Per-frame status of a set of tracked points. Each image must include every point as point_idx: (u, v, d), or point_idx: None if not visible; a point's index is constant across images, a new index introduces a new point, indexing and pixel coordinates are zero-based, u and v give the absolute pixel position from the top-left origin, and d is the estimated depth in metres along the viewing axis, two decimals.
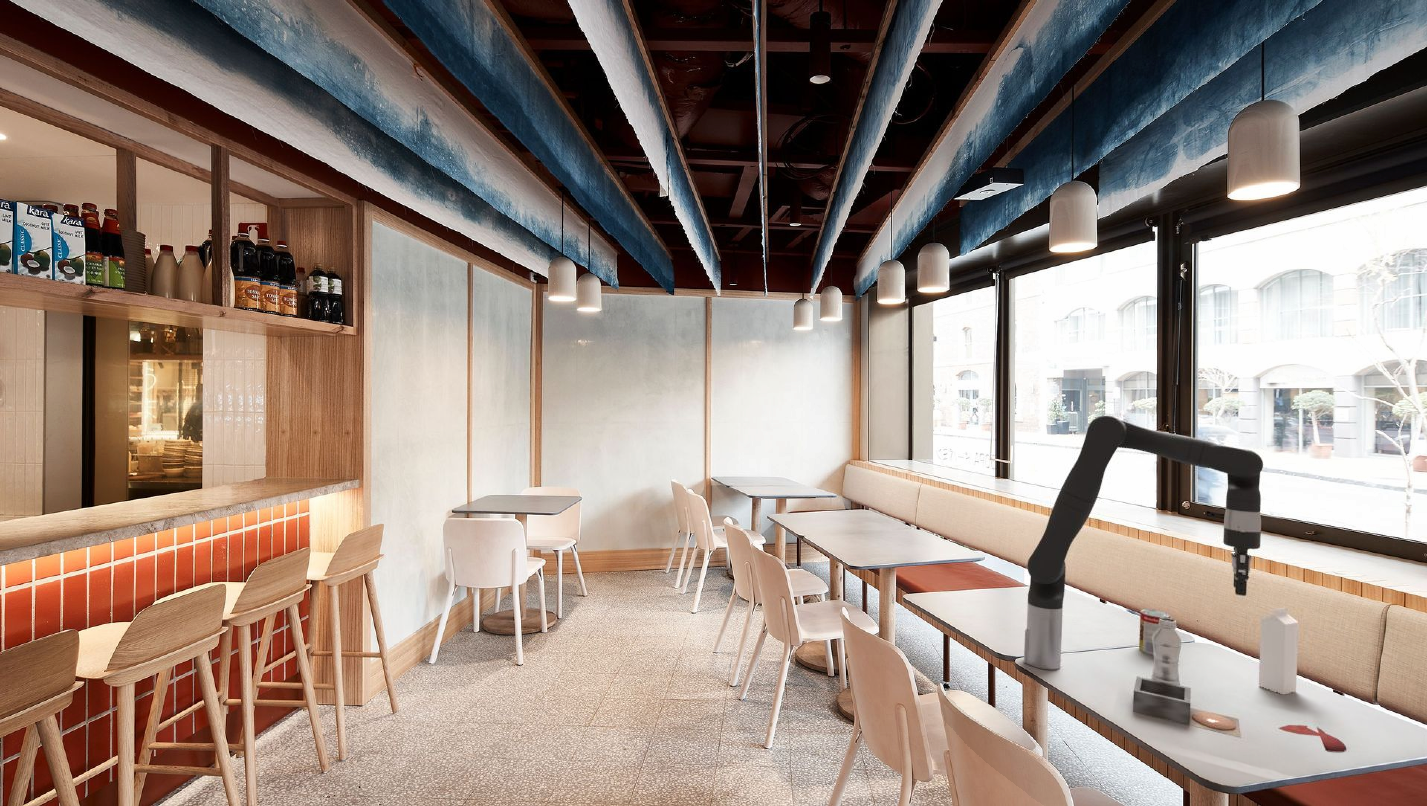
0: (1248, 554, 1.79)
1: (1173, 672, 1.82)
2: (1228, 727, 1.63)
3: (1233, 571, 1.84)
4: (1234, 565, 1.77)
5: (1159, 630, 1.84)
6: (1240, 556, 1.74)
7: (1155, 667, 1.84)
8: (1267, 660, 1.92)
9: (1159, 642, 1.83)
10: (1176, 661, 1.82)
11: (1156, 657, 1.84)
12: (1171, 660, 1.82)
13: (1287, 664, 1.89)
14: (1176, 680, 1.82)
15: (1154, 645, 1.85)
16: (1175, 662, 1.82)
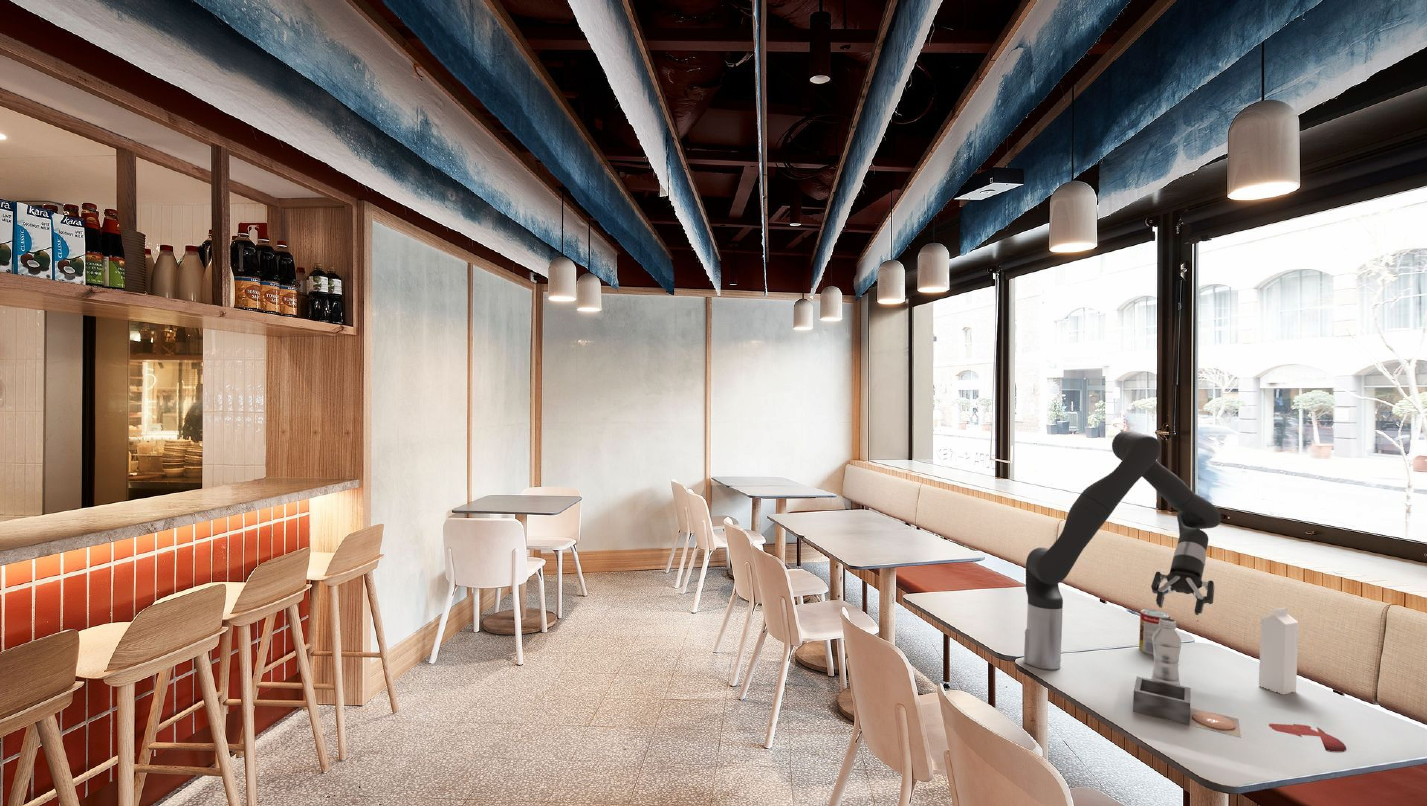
0: None
1: (1173, 672, 1.82)
2: (1228, 727, 1.63)
3: (1159, 591, 1.97)
4: None
5: (1159, 630, 1.84)
6: (1213, 583, 1.93)
7: (1155, 667, 1.84)
8: (1267, 660, 1.92)
9: (1159, 642, 1.83)
10: (1176, 661, 1.82)
11: (1156, 657, 1.84)
12: (1171, 660, 1.82)
13: (1287, 665, 1.88)
14: (1176, 680, 1.82)
15: (1154, 645, 1.85)
16: (1175, 662, 1.82)
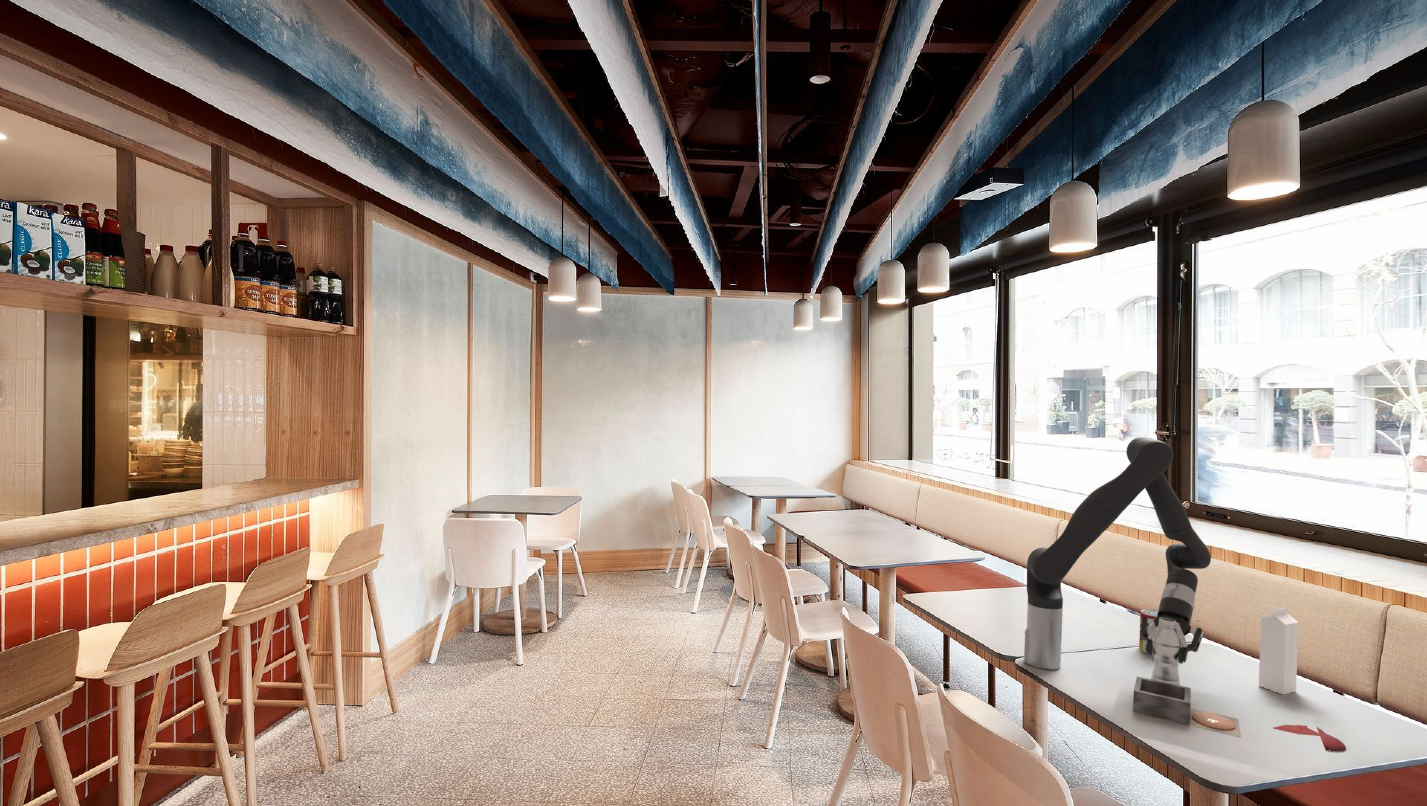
0: None
1: (1173, 672, 1.82)
2: (1228, 727, 1.63)
3: (1150, 638, 1.87)
4: (1183, 634, 1.84)
5: (1159, 630, 1.84)
6: (1202, 631, 1.83)
7: (1155, 667, 1.84)
8: (1267, 660, 1.92)
9: (1159, 642, 1.83)
10: (1176, 661, 1.82)
11: (1156, 657, 1.84)
12: (1171, 660, 1.82)
13: (1287, 664, 1.89)
14: (1176, 680, 1.82)
15: (1154, 645, 1.85)
16: (1175, 662, 1.82)
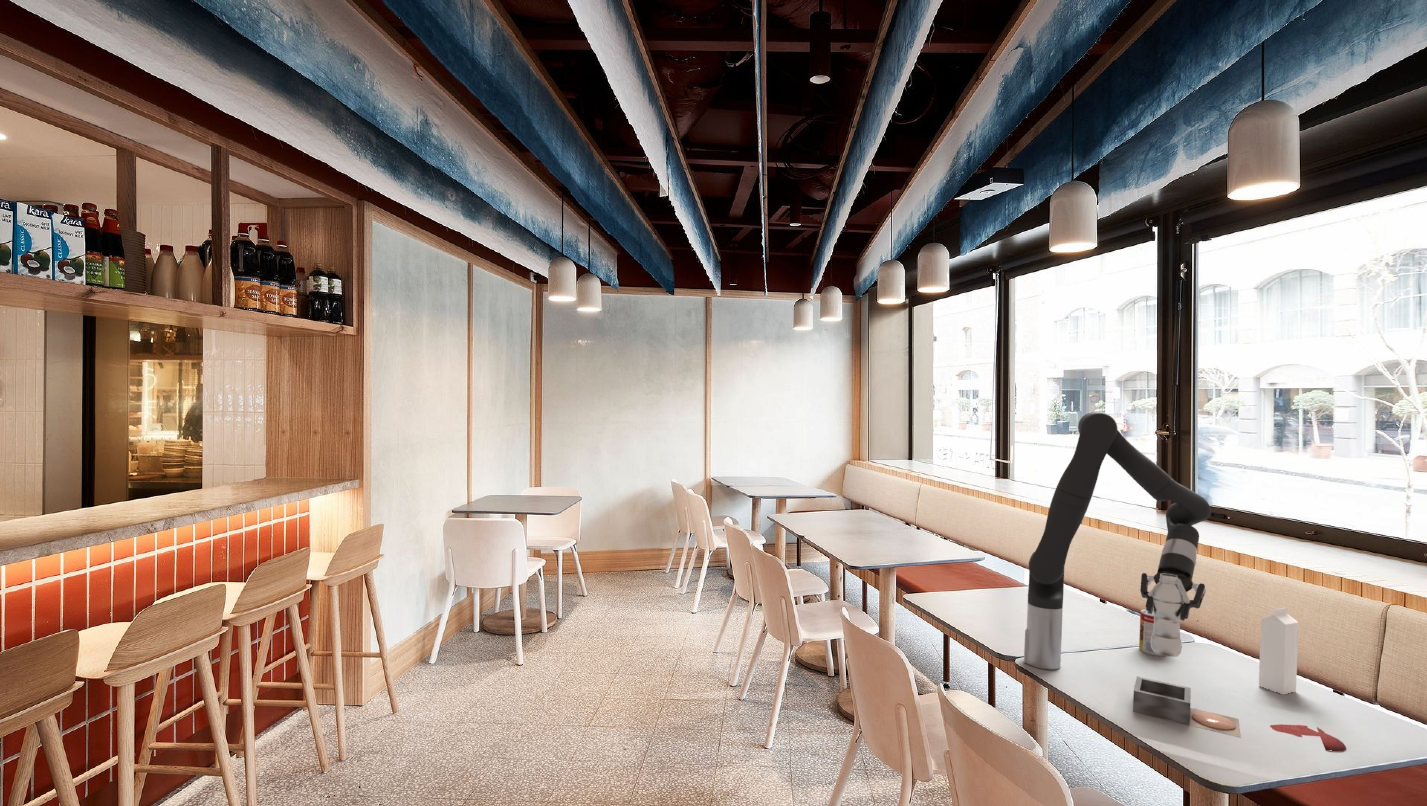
0: None
1: (1175, 630, 1.73)
2: (1228, 727, 1.63)
3: (1150, 595, 1.79)
4: (1185, 590, 1.75)
5: (1160, 586, 1.76)
6: (1204, 587, 1.75)
7: (1155, 625, 1.76)
8: (1267, 660, 1.92)
9: (1160, 598, 1.74)
10: (1178, 618, 1.73)
11: (1157, 614, 1.75)
12: (1172, 617, 1.73)
13: (1287, 665, 1.89)
14: (1177, 638, 1.73)
15: (1155, 602, 1.76)
16: (1176, 619, 1.73)
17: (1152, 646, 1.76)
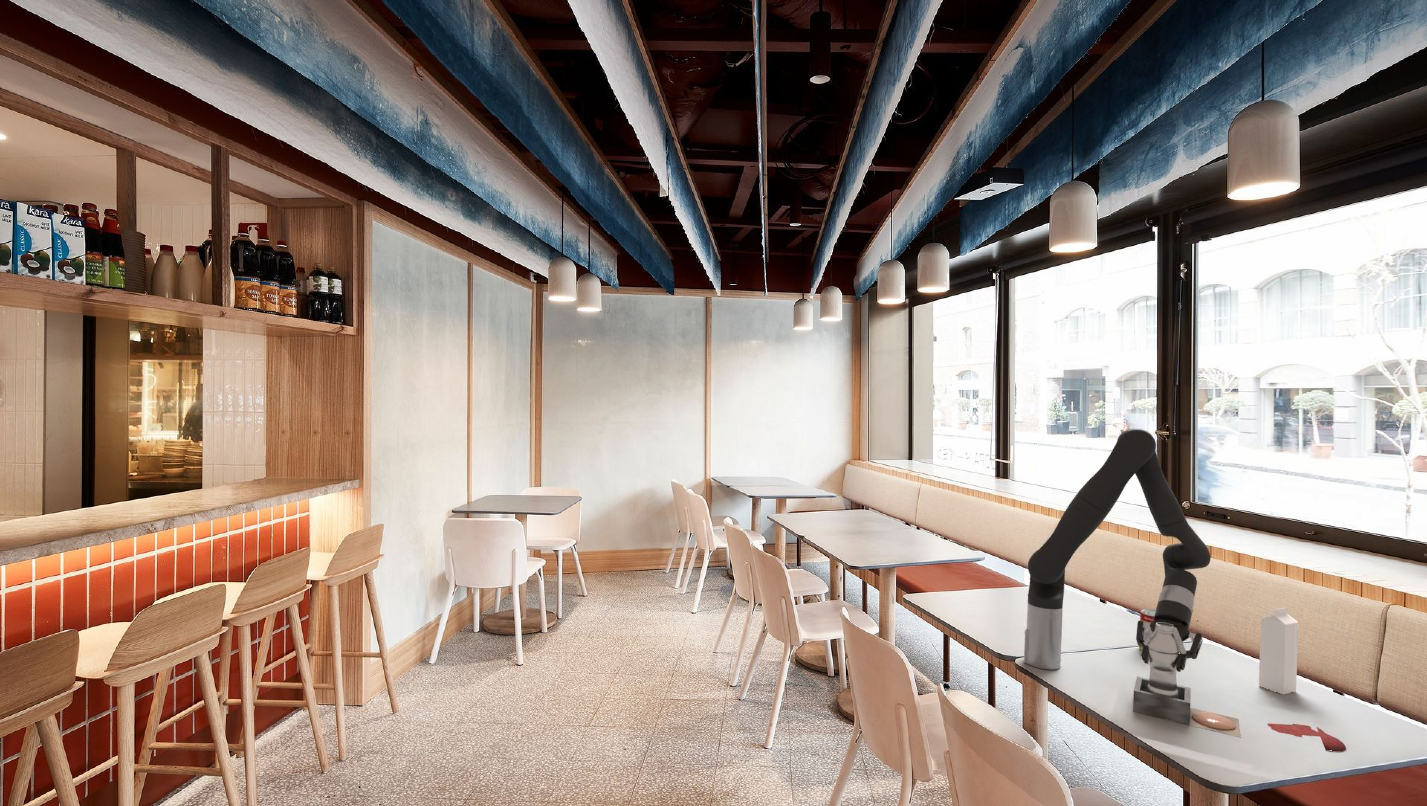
0: None
1: (1171, 681, 1.70)
2: (1228, 727, 1.63)
3: (1145, 644, 1.75)
4: (1181, 640, 1.72)
5: (1155, 636, 1.72)
6: (1201, 637, 1.71)
7: (1151, 675, 1.72)
8: (1267, 660, 1.92)
9: (1155, 649, 1.71)
10: (1174, 669, 1.70)
11: (1152, 665, 1.72)
12: (1168, 668, 1.70)
13: (1287, 665, 1.89)
14: (1174, 689, 1.70)
15: (1150, 652, 1.72)
16: (1173, 670, 1.70)
17: None
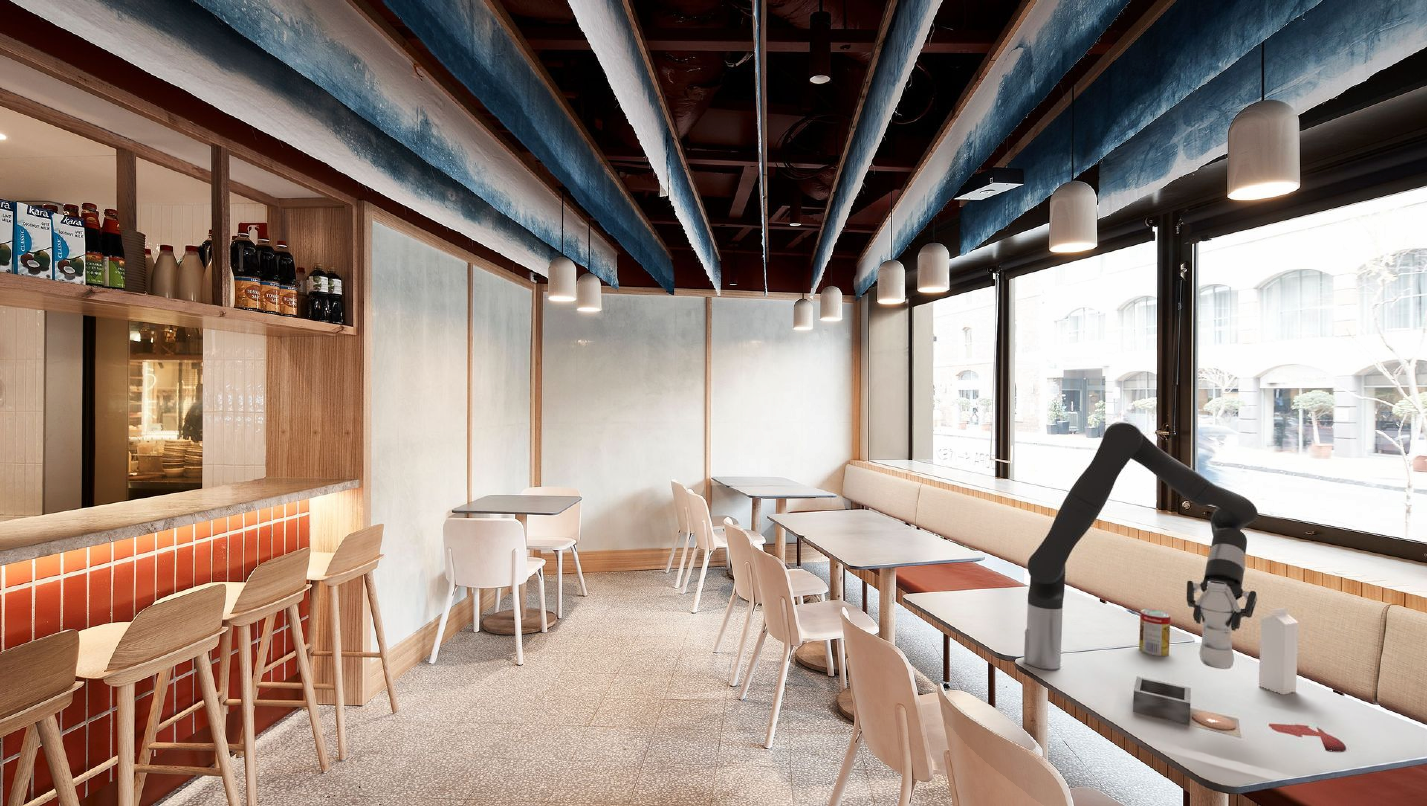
0: None
1: (1226, 641, 1.64)
2: (1228, 727, 1.63)
3: (1197, 604, 1.69)
4: None
5: (1208, 594, 1.67)
6: (1256, 595, 1.65)
7: (1204, 635, 1.66)
8: (1267, 660, 1.92)
9: (1208, 607, 1.65)
10: (1228, 628, 1.64)
11: (1205, 624, 1.66)
12: (1222, 627, 1.64)
13: (1287, 664, 1.89)
14: (1229, 649, 1.64)
15: (1203, 611, 1.67)
16: (1227, 629, 1.64)
17: (1202, 658, 1.67)
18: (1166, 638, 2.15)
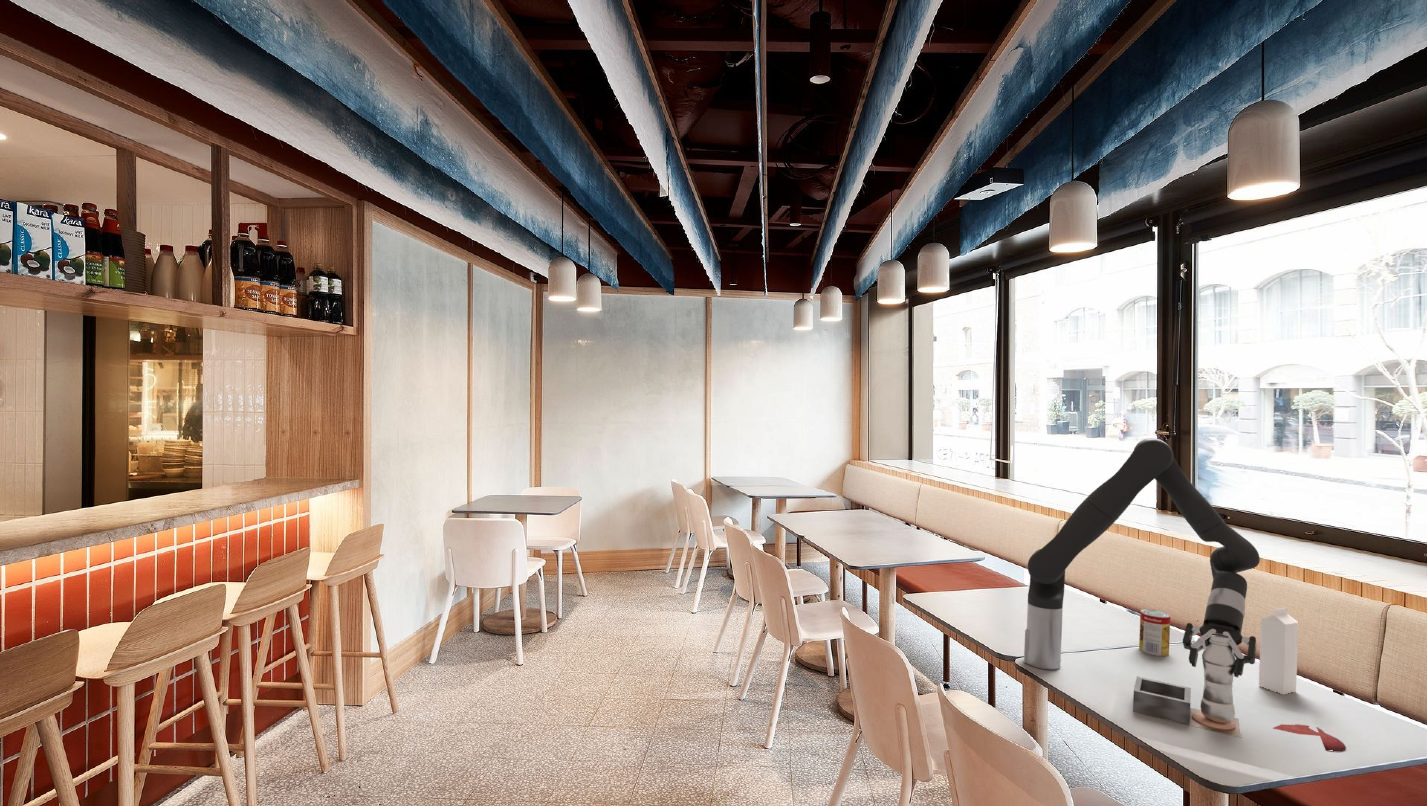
0: None
1: (1227, 695, 1.64)
2: (1228, 727, 1.63)
3: (1193, 647, 1.70)
4: None
5: (1210, 647, 1.66)
6: (1255, 640, 1.65)
7: (1206, 688, 1.66)
8: (1267, 660, 1.92)
9: (1210, 661, 1.65)
10: (1230, 682, 1.64)
11: (1207, 677, 1.66)
12: (1224, 681, 1.64)
13: (1287, 665, 1.89)
14: (1230, 703, 1.64)
15: (1205, 664, 1.66)
16: (1229, 683, 1.64)
17: (1202, 711, 1.66)
18: (1166, 638, 2.15)
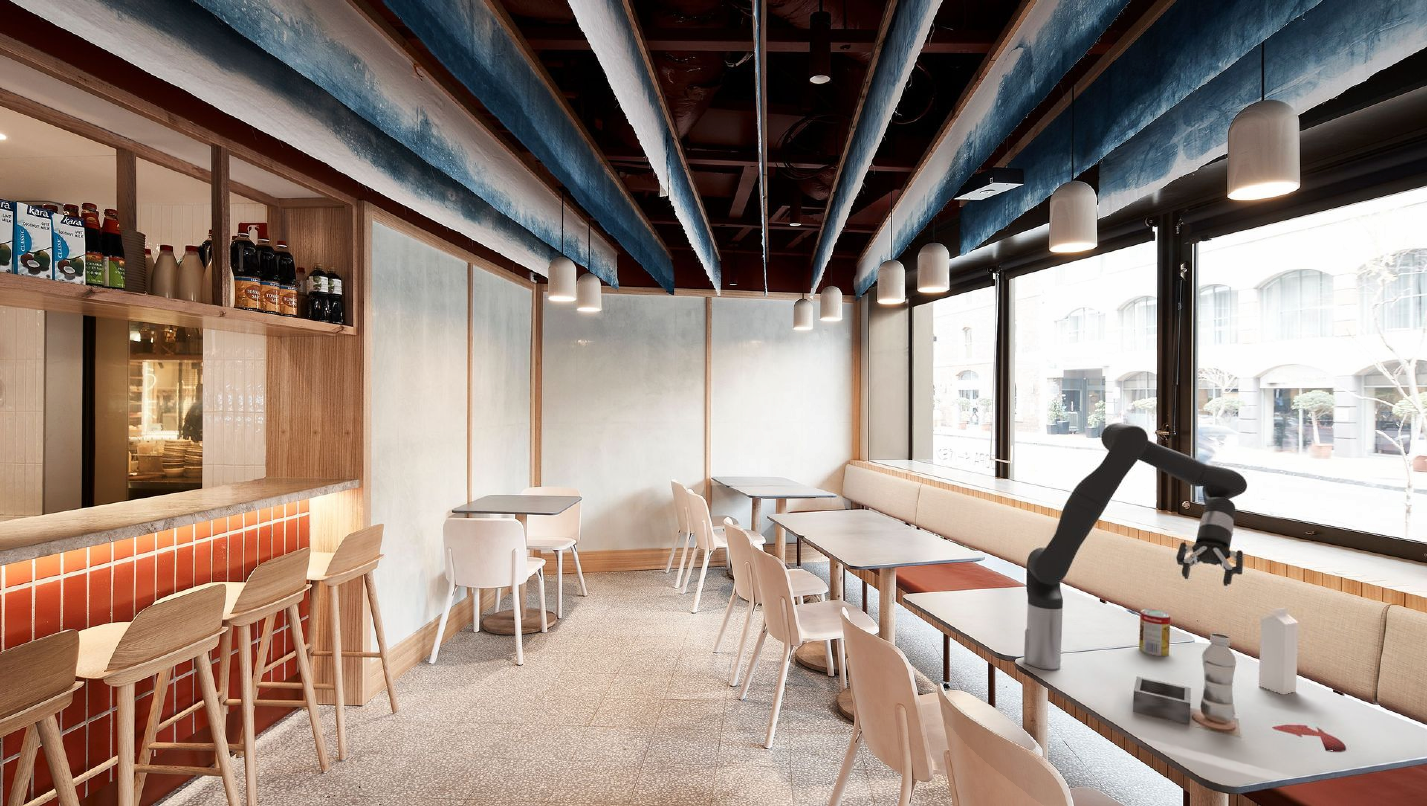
0: None
1: (1227, 695, 1.64)
2: (1228, 727, 1.63)
3: (1185, 562, 1.89)
4: None
5: (1210, 647, 1.66)
6: (1242, 553, 1.84)
7: (1206, 688, 1.66)
8: (1267, 660, 1.92)
9: (1210, 661, 1.65)
10: (1230, 682, 1.64)
11: (1207, 677, 1.66)
12: (1224, 681, 1.64)
13: (1287, 665, 1.89)
14: (1230, 703, 1.64)
15: (1205, 664, 1.66)
16: (1229, 683, 1.64)
17: (1202, 711, 1.66)
18: (1166, 638, 2.15)
